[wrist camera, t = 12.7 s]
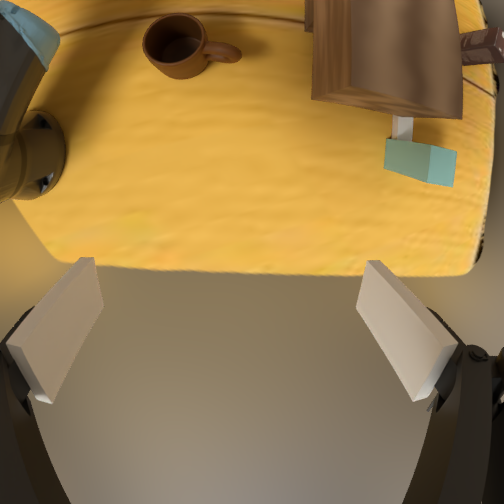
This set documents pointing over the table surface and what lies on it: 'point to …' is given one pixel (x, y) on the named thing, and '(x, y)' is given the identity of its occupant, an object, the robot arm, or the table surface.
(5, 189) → the robot arm
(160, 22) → the mug
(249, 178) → the table surface
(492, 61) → the box
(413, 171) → the tool
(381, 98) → the wooden cabinet
